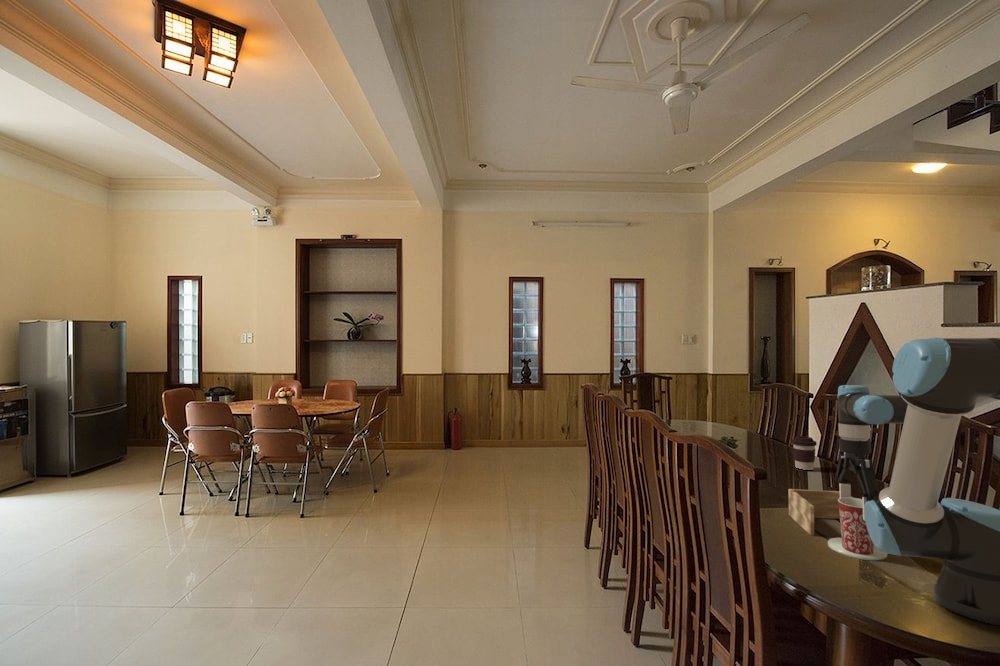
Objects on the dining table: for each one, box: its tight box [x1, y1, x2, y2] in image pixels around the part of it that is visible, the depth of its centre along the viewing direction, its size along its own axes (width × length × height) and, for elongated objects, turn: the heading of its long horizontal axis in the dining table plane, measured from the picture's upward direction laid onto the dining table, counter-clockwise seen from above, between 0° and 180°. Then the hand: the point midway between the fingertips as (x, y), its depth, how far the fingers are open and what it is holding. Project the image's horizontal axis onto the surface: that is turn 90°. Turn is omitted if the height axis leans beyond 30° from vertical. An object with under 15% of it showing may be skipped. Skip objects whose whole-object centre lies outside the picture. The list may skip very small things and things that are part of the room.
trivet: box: [827, 537, 888, 562], centre depth 144 cm, size 14×14×1 cm
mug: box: [838, 497, 874, 555], centre depth 143 cm, size 13×9×14 cm
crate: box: [788, 488, 854, 536], centre depth 162 cm, size 18×17×9 cm
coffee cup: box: [791, 435, 817, 471], centre depth 234 cm, size 10×10×15 cm
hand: (856, 513), depth 143 cm, fingers open, 13 cm apart
